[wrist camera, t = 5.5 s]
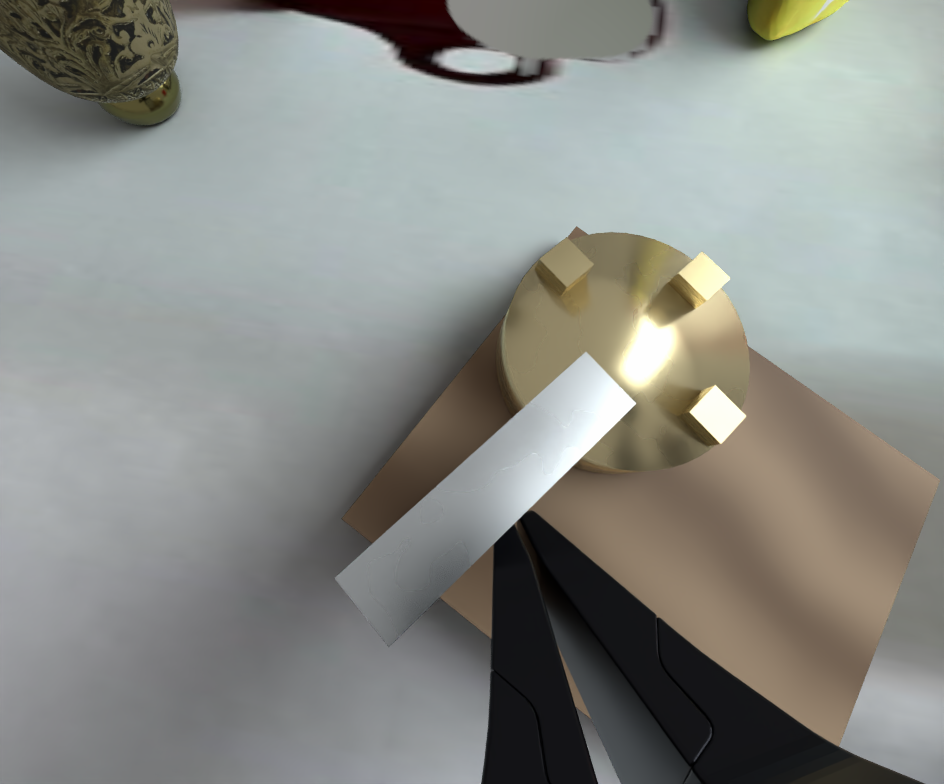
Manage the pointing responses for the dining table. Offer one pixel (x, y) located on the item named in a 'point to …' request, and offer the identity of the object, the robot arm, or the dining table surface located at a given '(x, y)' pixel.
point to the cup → (99, 52)
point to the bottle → (787, 15)
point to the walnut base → (712, 533)
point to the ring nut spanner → (572, 406)
